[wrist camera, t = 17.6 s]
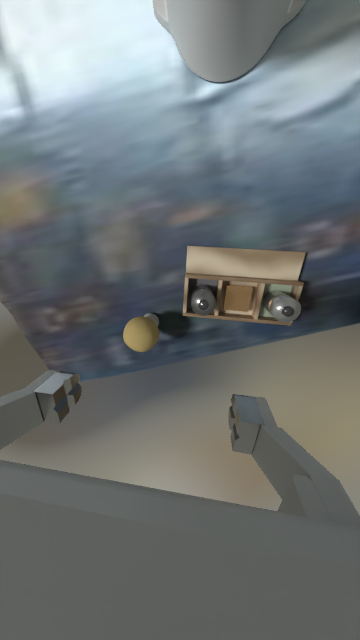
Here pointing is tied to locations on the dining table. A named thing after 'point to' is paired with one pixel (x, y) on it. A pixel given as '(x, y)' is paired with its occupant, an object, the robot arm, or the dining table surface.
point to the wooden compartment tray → (242, 278)
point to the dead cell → (203, 300)
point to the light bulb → (142, 332)
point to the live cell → (281, 306)
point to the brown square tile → (237, 298)
